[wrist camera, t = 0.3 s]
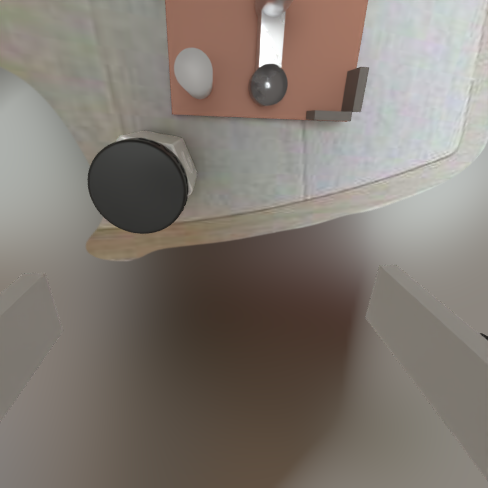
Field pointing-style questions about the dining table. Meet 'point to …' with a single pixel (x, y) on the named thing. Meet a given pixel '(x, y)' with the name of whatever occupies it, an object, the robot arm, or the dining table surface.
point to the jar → (142, 181)
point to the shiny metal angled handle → (269, 53)
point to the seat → (244, 59)
